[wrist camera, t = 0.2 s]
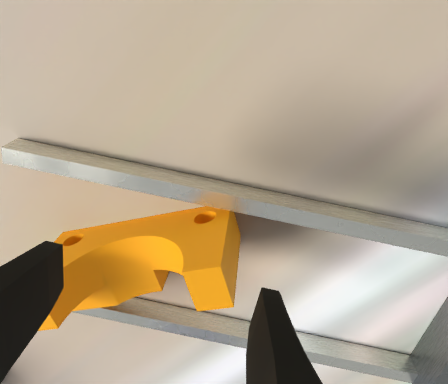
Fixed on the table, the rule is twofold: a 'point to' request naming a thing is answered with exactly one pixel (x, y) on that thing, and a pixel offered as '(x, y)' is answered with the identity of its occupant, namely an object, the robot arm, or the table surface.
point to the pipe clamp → (149, 260)
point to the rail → (270, 209)
